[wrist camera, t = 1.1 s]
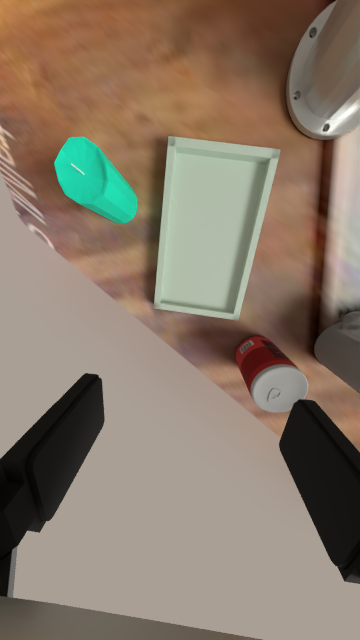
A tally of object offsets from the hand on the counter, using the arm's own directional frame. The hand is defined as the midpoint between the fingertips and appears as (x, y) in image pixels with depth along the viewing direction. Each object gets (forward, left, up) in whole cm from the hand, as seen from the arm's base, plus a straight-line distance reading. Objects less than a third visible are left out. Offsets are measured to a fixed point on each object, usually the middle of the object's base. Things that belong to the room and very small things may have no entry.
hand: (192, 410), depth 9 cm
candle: (-14, -14, -26) cm, 33 cm away
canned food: (+9, +14, -26) cm, 30 cm away
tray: (-10, +1, -26) cm, 27 cm away
